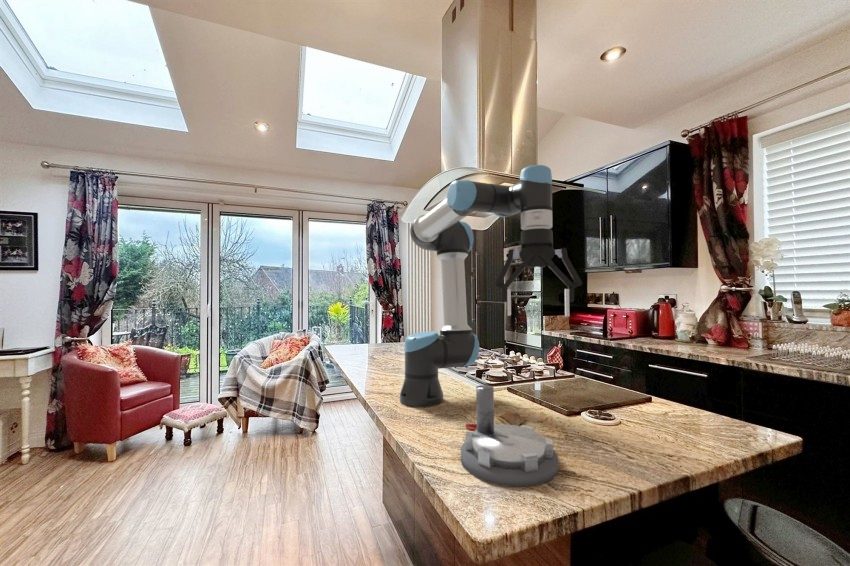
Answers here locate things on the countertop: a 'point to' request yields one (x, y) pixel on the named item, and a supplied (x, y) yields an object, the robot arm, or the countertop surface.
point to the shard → (512, 418)
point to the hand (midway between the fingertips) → (537, 315)
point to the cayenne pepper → (471, 426)
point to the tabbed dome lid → (504, 439)
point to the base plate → (510, 471)
